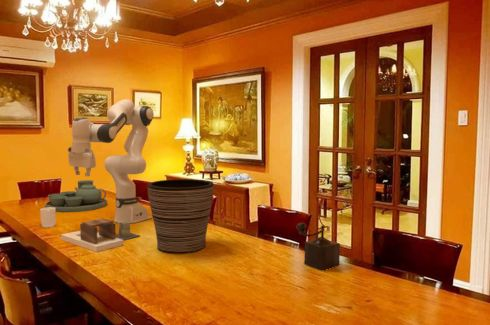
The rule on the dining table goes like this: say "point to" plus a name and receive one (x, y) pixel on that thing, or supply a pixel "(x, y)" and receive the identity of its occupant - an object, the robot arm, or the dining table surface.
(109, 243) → the puzzle board
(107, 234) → the cover
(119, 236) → the mat
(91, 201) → the tea set
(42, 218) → the white cup
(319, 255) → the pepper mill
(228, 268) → the dining table surface
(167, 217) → the planter pot
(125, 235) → the block
